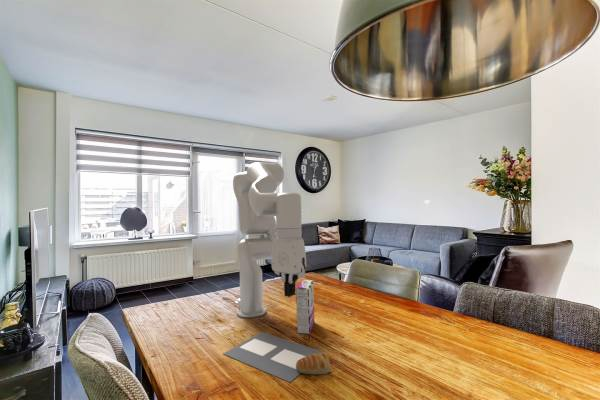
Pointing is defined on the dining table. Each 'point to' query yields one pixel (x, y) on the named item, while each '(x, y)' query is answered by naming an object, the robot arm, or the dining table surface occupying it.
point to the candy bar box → (305, 306)
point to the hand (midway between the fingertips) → (289, 295)
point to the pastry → (314, 364)
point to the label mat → (272, 355)
